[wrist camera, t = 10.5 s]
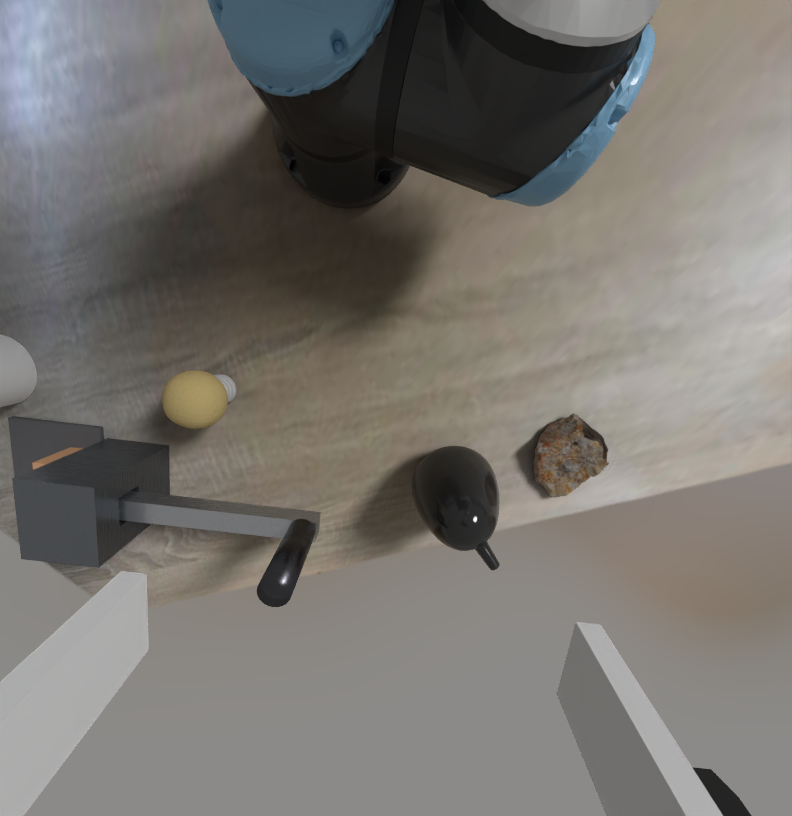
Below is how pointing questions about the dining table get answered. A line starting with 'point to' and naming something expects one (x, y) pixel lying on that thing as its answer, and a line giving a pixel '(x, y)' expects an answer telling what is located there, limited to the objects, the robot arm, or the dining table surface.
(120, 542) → the bearing block
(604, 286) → the dining table surface
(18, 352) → the cylinder with rectangular tab
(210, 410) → the light bulb
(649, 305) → the dining table surface
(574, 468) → the rock
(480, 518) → the pump dispenser
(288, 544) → the shaft
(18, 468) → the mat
